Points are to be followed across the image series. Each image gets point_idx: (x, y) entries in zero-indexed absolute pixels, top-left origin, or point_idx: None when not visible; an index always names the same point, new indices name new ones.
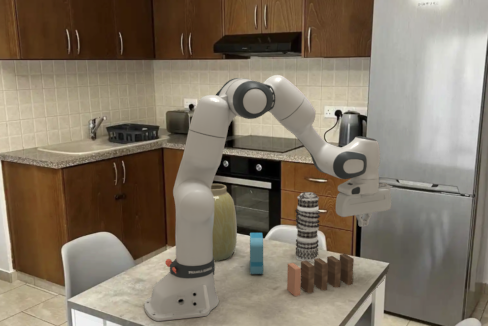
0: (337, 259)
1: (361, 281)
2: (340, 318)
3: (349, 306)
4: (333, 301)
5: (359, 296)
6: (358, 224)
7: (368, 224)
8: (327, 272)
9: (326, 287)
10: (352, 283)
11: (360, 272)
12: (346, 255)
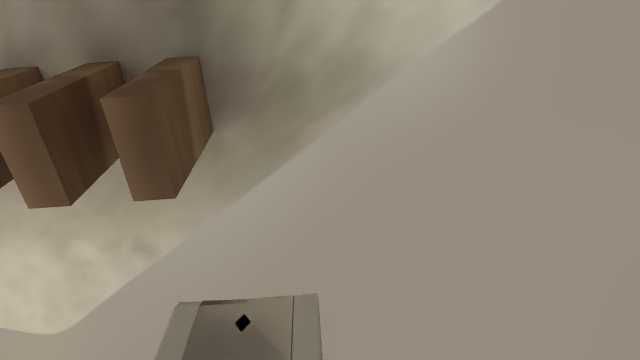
0: (52, 176)
1: (271, 118)
2: (63, 326)
3: (120, 279)
4: (69, 236)
5: (191, 232)
6: (176, 314)
7: (322, 358)
8: (8, 181)
9: None
10: (211, 133)
11: (329, 15)
12: (146, 133)
